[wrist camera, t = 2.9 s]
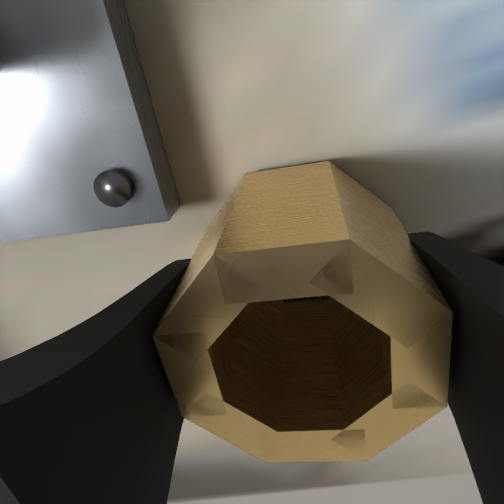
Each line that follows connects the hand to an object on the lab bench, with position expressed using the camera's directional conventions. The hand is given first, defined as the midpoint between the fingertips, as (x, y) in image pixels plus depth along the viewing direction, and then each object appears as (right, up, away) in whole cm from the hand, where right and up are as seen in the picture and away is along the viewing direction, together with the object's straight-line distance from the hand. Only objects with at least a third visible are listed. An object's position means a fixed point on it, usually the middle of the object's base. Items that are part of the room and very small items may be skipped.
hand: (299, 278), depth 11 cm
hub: (0, +1, +1) cm, 1 cm away
